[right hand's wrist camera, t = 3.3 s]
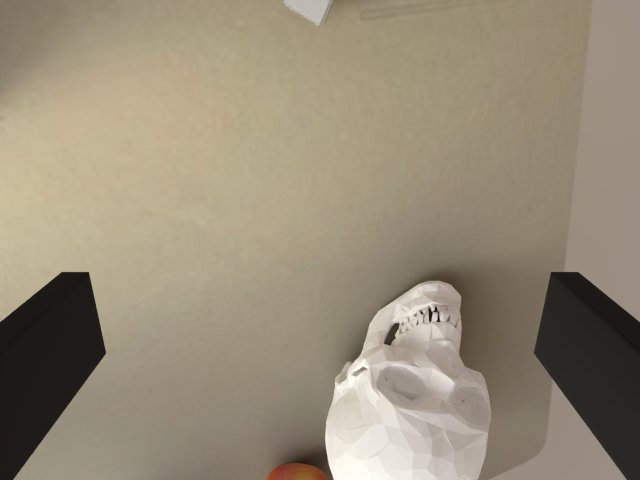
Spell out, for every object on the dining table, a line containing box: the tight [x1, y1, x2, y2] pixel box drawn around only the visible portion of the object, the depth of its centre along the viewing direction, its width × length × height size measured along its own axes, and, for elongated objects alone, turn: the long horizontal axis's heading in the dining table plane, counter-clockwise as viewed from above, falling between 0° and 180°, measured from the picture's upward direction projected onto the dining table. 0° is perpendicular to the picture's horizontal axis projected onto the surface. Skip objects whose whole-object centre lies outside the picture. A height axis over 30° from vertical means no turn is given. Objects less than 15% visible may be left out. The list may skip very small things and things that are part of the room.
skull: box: [325, 281, 491, 480], centre depth 41 cm, size 13×22×16 cm, turn 165°
